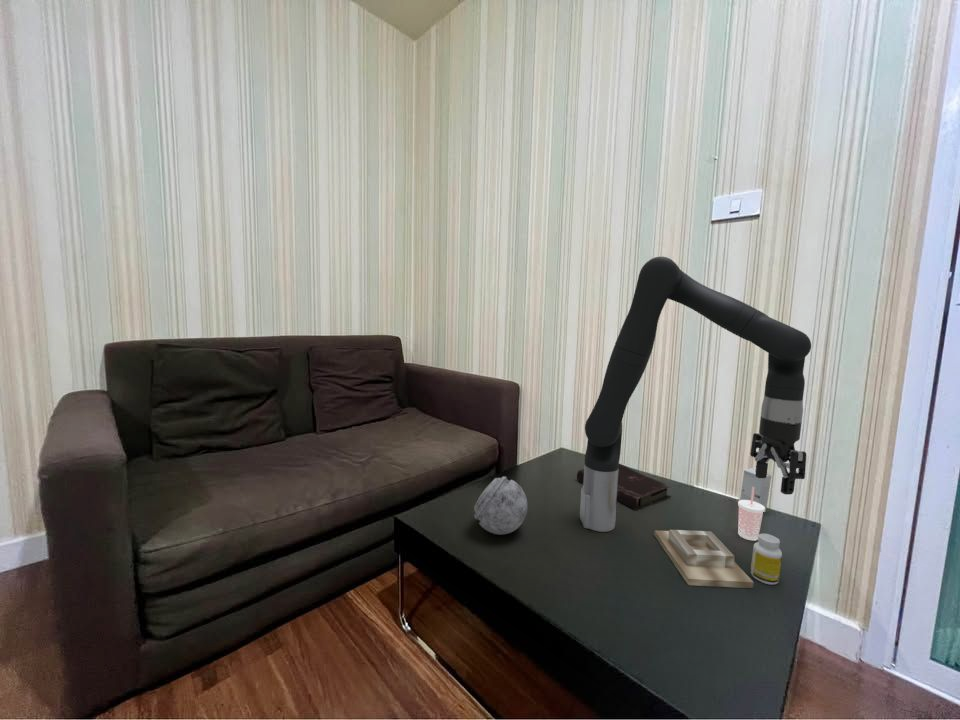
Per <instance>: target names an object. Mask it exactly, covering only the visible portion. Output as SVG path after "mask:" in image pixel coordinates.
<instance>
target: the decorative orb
mask: <svg viewBox="0 0 960 720" xmlns="http://www.w3.org/2000/svg"><path fill="white" fill-rule="evenodd" d="M473 509H474V515H473V517H474V518H475V520H478V521H479V523H478V524H479V525H480V526H481V528H483V530H485V531H487V532H489V533H491V534H493V535H498V536H499V535H501V536H502V535H507V534H511V533H512V532H513V533H514V532H515V531H516V530H518V529H519V528H520V526H521V525H522V524H523V523H524V521H525V519H526V516H527V514H528V499H527V496H526V493H525V491H524V490H523V488H522V486H521V485H519V484H518V483H517V482H516V481H515V480H513V479H510V480H509V479H508V477H507V476H502V477H495V478H494V479H493V480H492V481H491V482H490V483H489V484H488V485H487V486H486V487H485V488H484V490H483V491H482V493H481V494H480V495H479V497H478V499H477V500H476V503H475V504H474V506H473Z"/></svg>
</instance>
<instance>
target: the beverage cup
mask: <svg viewBox="0 0 960 720" xmlns="http://www.w3.org/2000/svg"><path fill="white" fill-rule="evenodd" d="M753 495H754V487H752V494H751V500H740V499H739V500H738V502H737V505H738V527H737V528H738V529H737V534H738V535H739V536H740V538H743V539H744V540H748V541H758V536H759V534H760V530H761V525H762V520H763V517H764V516H763V515H764V513H765V512H764V511H765V507H764V506H763V505H761V504H760V503H757V502H754V501H753ZM763 512H764V513H763Z"/></svg>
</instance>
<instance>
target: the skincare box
mask: <svg viewBox="0 0 960 720" xmlns="http://www.w3.org/2000/svg"><path fill="white" fill-rule="evenodd" d="M742 475H743V477H742V482H741V489H740V496H739V500H751V494H752V487H754V495H753V501H754V502H757V503H760V504H761V505H763V506H764V507H765V511H764V513H766V512H767V507H768V500H769V492H770V488H771V481H772V475H771V474H769V473H767V477H766V478H758V477H756V476H755V475H756V468H754V467H751V468H746V469H744V470H743V474H742Z"/></svg>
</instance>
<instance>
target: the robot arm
mask: <svg viewBox="0 0 960 720" xmlns="http://www.w3.org/2000/svg"><path fill="white" fill-rule="evenodd" d="M667 300H671V301H673V302H676V303H679V304H681V305H683V306H685V307H687V308H689V309H691V310H693V311H694V312H696V313H698V314H700V315H701V316H703V317H704V318H706V319H707V320H709V321H711V322H712V323H714V324H716V325H717V326H719V327H720V328H722V329H724V330H726V331H728V332H729V333H731V334H733V335H735V336H737V337H739V338H741V339H743V340H746V341H748V342H751V343H752V344H754V345H755V346H757V347H758V348H760V349H761V350H763V351H765V352H766V353H768V355H767V356H768V357H767V375H766V378H765V385H764V395H763V399H762V403H761V408H760V409H761V410H760V419H759V427H758V428H759V429H758V433H756V432H755V433H753V434H752V439H751V445H750V446H751V447H750V456H751V458H752V457H753V458H754V461H755V462H756V464H755V469H756V475H755V476H756V477H758V478H766V477H767V474H768V468H769V467H768V466H769V463H768V462H769V461H770V460H772V461H773V462H775V463H776V466H777V468H778V469H780V471H781V473H782V477H781V485H780V493H782V494H783V495H793V494H794V491H795V484H796V480H805V478H806V465H807V453H806V451H802V450H797V449H796V447H795V443H796V442H799V440H800V438H801V431H802V422H803V415H804V403H803V402H804V393H805V386H806V385H805V384H806V383H805V382H806V380H805V379H806V378H805V375H804V370H805V362H806V357H807V356H808V355H809V354H810V352H811V350H812V343H811V339H810V337H809V336H808V335H807V334H806V333H804V332H803V331H801V330H800V329H797V328H795V327H793V326H790V325H788V324H785V323H784V322H781V321H779V320H777V319H775V318H772V317H770V316H768V315H767V314H766V313H764V312H763V311H761V310H759V309H757V308H756V307H753V306H751V305H750V304H747V303H745V302H743V301H741V300H739V299H737V298H735V297H732V296H730V295H727V294H725V293H722V292H719V291H717V290H714V289H712V288H710V287H708V286H706V285H704V284H702V283H701V282H699V281H697V280H695V279H693V278H692V277H691V276H689V274H687V273H685V272H684V271H683V270H682V269H680V267H679V266H678V265H677V263H676V262H675V261H673V260H672V259H671V258H669V257H667V256H655V257H653V258H650V259H649V260H648V261H646V262H645V263H644V264H643V265H642V267H641V268H640V270H639V273H638V279H637V282H636V285H635V291H634V292H633V298H632V302H631V305H630V307H629V310H628V312H627V315H626V317H625V319H624V321H623V324H622V327H621V329H620V331H619V333H618V336H617V339H616V341H615V343H614V346H613V349H612V352H611V354H610V357H609V360H608V363H607V366H606V370H605V373H604V377H603V381H602V386H601V389H600V393H599V395H598V397H597V400H596V401H595V405H594V406H593V408H592V410H591V411H590V412H591V413H590V414H589V415H588V418H587V420H586V421H585V423H584V424H585V425H584V432H585V436H586V439H587V444H586V449H585V452H584V453H585V454H584V465H583V466H584V468H583V469H584V483H582V485H583V486H581V489H580V503H579V504H580V507H579V508H580V509H579V519H580V522H581V523H582V527H583V529H589V530H592V531H595V532H599V533H601V532H602V533H605V532H611V531H613V530H614V529H615V526H616V515H617V502H618V501H617V486H618V471H619V464H620V461H621V453H622V452H621V450H622V449H621V448H622V439H623V438H622V437H623V419H624V415H625V413H626V409H627V406H628V403H629V401H630V399H631V397H632V395H633V394H634V391H635V390H636V388H637V386H638V385H639V383H640V381H641V378H642V376H643V375H644V372H645V370H646V368H647V365H648V363H649V360H650V358H651V356H652V355H651V354H652V353H653V348H654V345H655V340H656V334H657V329H658V324H659V320H660V315H661V314H662V311H663V309H664V307H665V304H666V302H667ZM757 449H758V451H757ZM788 469H789V471H788ZM797 469H798V472H797Z"/></svg>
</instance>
